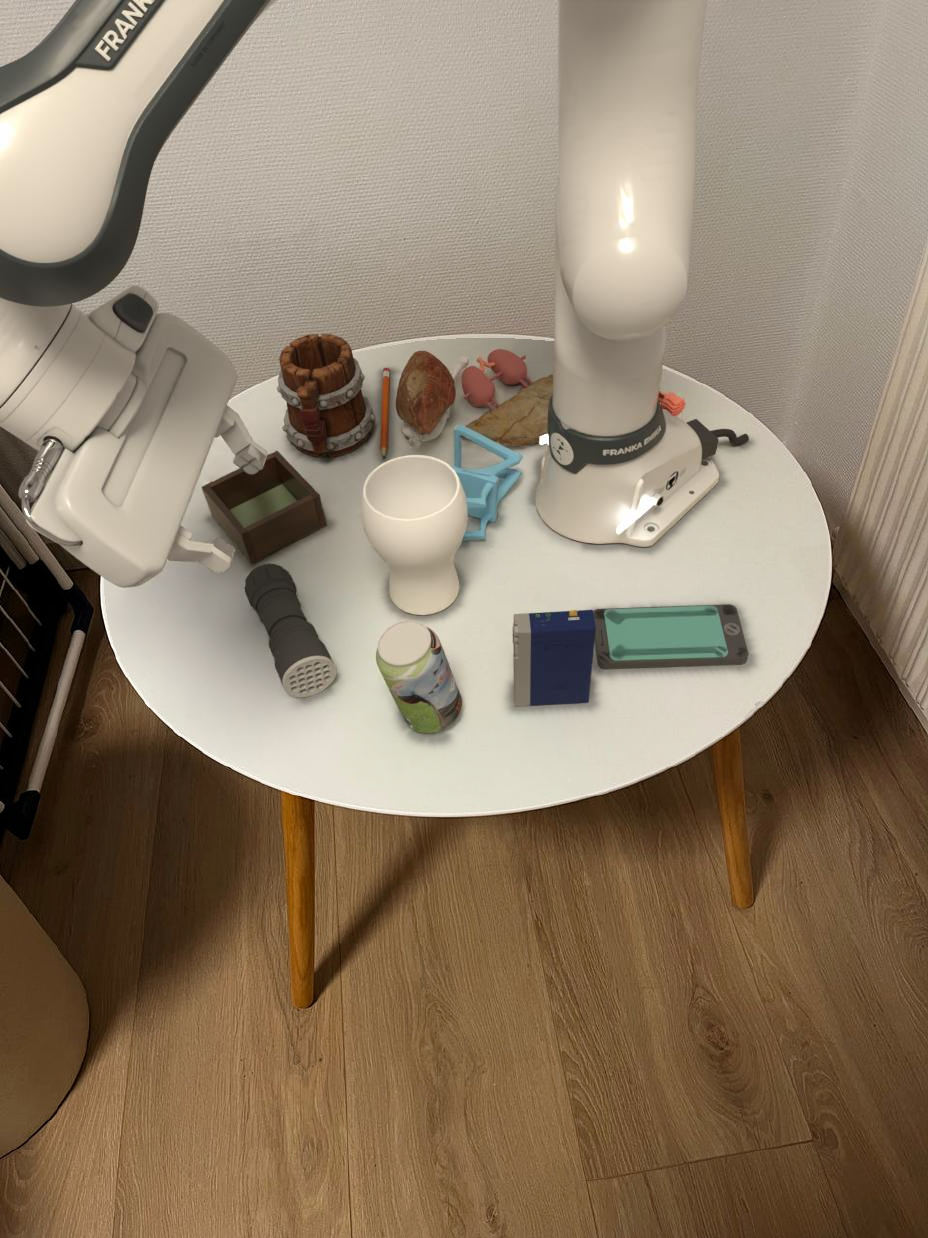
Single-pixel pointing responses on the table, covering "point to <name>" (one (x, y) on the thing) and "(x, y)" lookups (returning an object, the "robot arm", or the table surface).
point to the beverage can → (418, 676)
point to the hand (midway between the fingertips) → (245, 511)
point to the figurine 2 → (503, 366)
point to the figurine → (414, 434)
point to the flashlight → (289, 632)
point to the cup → (416, 529)
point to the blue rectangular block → (553, 657)
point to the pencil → (385, 412)
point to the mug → (323, 396)
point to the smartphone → (669, 636)
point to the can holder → (265, 508)
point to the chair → (484, 479)
